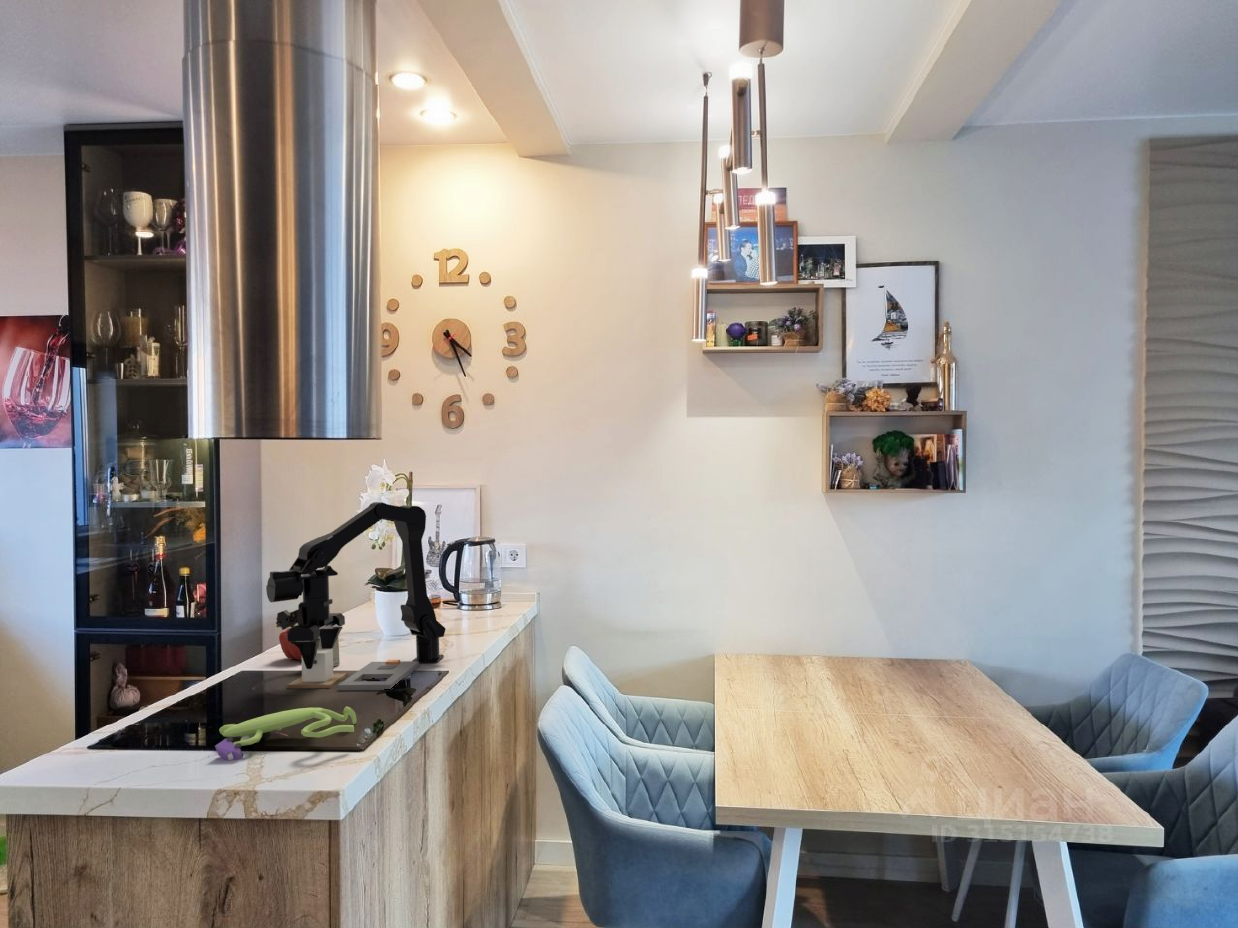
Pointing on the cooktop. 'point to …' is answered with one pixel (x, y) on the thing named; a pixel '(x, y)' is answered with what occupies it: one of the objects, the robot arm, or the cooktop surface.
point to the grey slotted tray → (379, 675)
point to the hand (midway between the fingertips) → (317, 663)
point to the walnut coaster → (322, 684)
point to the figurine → (280, 728)
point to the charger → (319, 667)
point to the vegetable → (289, 647)
